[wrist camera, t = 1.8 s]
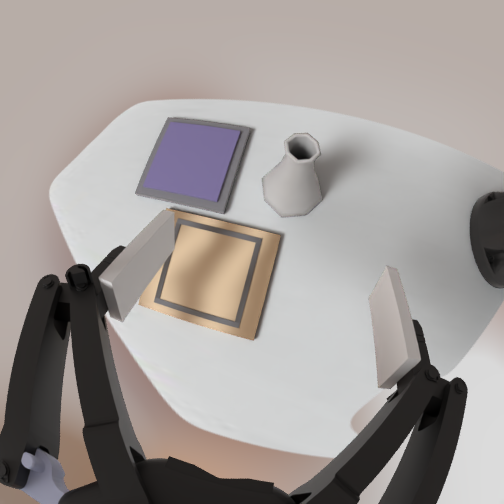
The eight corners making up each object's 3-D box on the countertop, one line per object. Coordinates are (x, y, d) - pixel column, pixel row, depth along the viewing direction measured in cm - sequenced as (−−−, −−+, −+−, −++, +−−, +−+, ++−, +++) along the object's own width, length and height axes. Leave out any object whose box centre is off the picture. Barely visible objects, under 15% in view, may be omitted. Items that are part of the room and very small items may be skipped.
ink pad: (250, 131, 34) (249, 126, 32) (224, 214, 32) (222, 211, 31) (169, 120, 35) (167, 115, 33) (137, 195, 33) (133, 192, 32)
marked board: (280, 236, 31) (280, 235, 30) (253, 339, 29) (253, 340, 29) (168, 209, 32) (166, 207, 32) (140, 304, 30) (138, 304, 30)
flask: (251, 176, 33) (247, 130, 23) (303, 155, 33) (316, 107, 23) (277, 228, 31) (284, 197, 21) (331, 204, 32) (357, 167, 22)
